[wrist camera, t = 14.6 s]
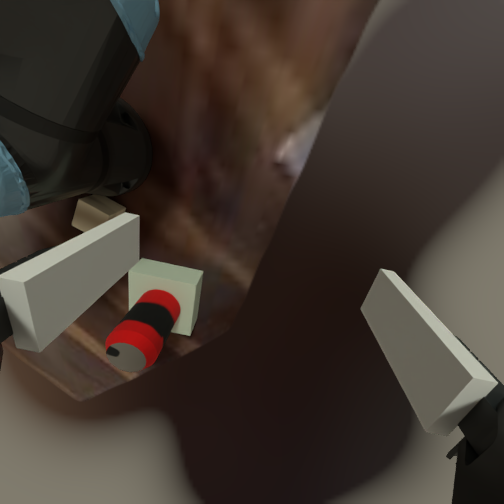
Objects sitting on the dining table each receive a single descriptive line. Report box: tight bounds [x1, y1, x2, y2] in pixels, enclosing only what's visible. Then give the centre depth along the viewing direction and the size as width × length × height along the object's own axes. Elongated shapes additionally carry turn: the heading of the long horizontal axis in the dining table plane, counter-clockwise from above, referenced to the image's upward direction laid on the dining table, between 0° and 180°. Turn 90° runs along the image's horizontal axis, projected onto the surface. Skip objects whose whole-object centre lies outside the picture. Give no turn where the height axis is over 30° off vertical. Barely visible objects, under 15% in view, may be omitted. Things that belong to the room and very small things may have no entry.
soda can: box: [106, 289, 181, 372], centre depth 40 cm, size 8×8×12 cm
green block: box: [128, 258, 203, 336], centre depth 47 cm, size 12×12×5 cm
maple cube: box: [72, 194, 126, 232], centre depth 41 cm, size 5×5×5 cm
